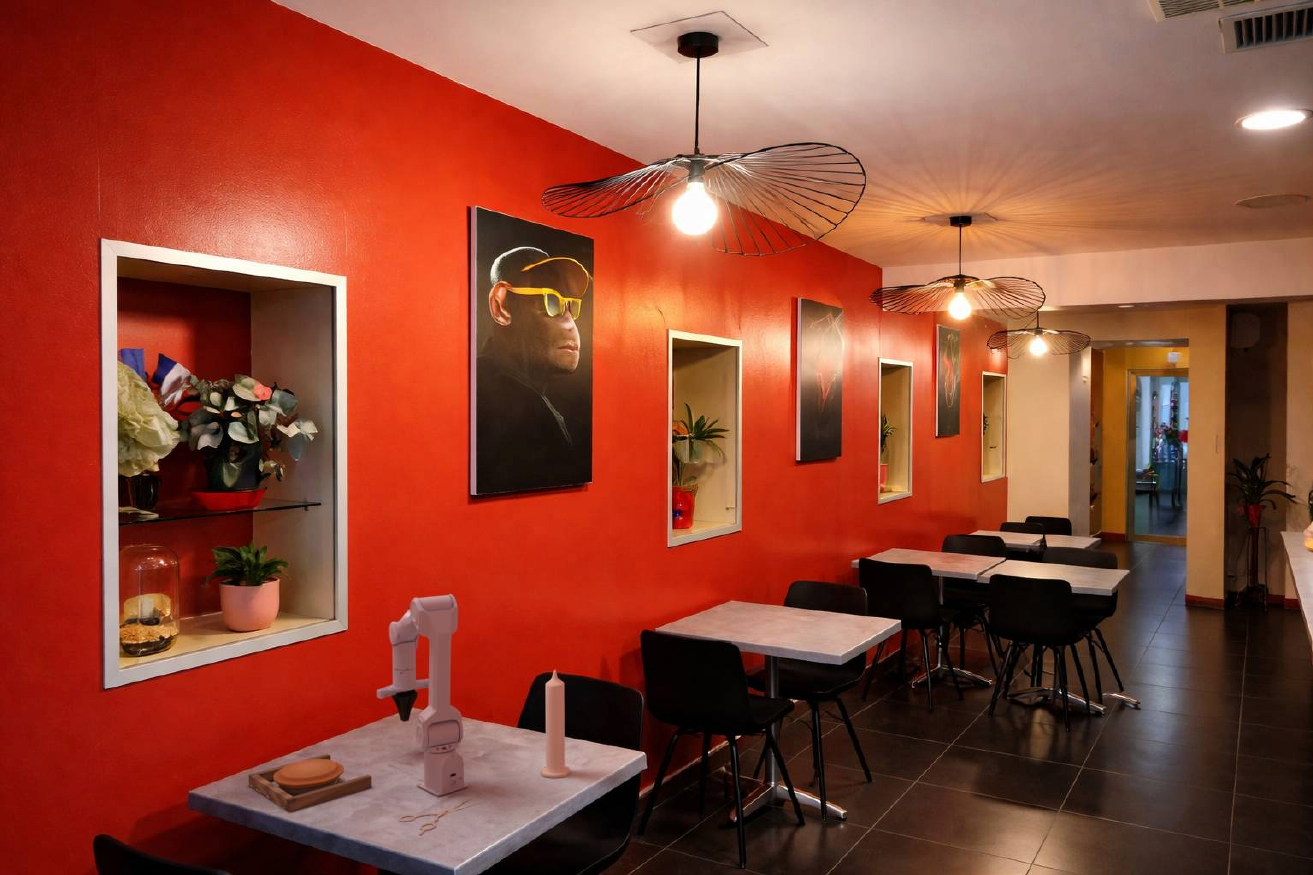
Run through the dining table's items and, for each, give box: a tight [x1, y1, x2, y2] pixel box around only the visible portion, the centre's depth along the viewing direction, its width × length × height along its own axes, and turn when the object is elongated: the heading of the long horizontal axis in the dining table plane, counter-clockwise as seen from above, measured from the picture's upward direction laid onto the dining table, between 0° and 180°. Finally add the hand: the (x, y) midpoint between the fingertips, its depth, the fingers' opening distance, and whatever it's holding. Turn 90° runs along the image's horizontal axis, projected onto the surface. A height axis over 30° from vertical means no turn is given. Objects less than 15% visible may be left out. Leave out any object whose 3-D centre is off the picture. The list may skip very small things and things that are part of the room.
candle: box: [540, 669, 571, 779], centre depth 227 cm, size 7×7×25 cm
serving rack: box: [248, 753, 372, 812], centre depth 219 cm, size 22×20×2 cm
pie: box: [273, 758, 345, 796], centre depth 219 cm, size 16×16×5 cm
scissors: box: [397, 797, 476, 836], centre depth 204 cm, size 11×1×20 cm
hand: (404, 720), depth 242 cm, fingers closed
